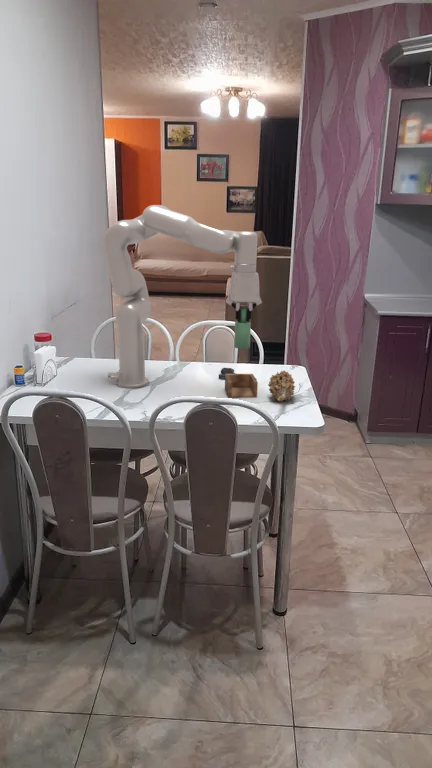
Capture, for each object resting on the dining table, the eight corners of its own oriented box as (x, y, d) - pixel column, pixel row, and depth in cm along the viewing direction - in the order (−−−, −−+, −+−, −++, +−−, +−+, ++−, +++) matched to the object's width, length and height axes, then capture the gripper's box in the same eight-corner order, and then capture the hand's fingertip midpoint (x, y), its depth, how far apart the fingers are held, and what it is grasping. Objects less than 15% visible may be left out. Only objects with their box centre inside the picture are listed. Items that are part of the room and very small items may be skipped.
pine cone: (266, 391, 205) (267, 366, 202) (292, 392, 205) (294, 367, 202) (269, 413, 184) (271, 385, 181) (298, 414, 184) (300, 386, 181)
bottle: (235, 348, 195) (236, 307, 190) (233, 345, 200) (234, 304, 196) (250, 348, 196) (252, 307, 191) (248, 345, 201) (250, 304, 196)
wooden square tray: (228, 397, 198) (228, 382, 196) (224, 388, 208) (225, 373, 206) (256, 397, 199) (257, 382, 197) (252, 388, 209) (252, 373, 207)
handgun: (259, 375, 227) (256, 384, 216) (221, 372, 230) (216, 380, 219) (259, 370, 226) (256, 378, 215) (221, 366, 229) (216, 375, 218)
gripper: (223, 269, 185) (221, 323, 191) (270, 270, 187) (267, 323, 192) (220, 267, 192) (219, 319, 198) (266, 267, 194) (263, 319, 199)
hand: (243, 320), depth 195 cm, fingers closed on bottle, 2 cm apart
